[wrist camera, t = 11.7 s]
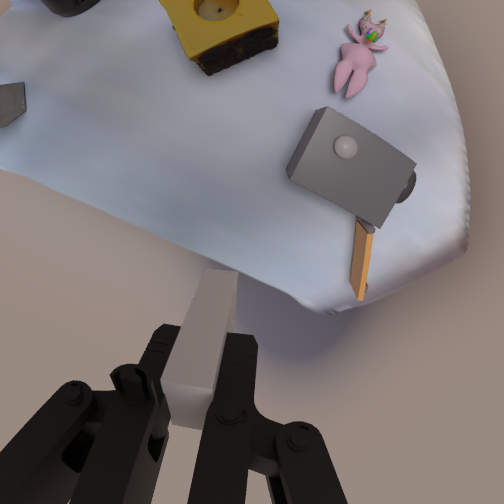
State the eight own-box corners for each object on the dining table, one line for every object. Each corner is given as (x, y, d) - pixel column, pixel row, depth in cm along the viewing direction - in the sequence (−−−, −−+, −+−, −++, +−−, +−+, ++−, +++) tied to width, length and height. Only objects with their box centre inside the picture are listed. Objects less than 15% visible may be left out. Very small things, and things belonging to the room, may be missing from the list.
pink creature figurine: (351, 11, 26) (315, 86, 30) (365, -8, 20) (327, 72, 24) (389, 33, 27) (358, 109, 31) (407, 18, 21) (377, 100, 25)
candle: (208, 77, 31) (186, 62, 22) (180, 23, 28) (153, -2, 19) (280, 47, 29) (282, 22, 20) (248, -7, 25) (240, -41, 16)
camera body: (285, 169, 36) (289, 183, 28) (315, 110, 32) (329, 105, 24) (372, 216, 38) (395, 240, 30) (402, 163, 34) (432, 175, 26)
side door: (356, 212, 37) (368, 226, 32) (369, 212, 37) (382, 226, 32) (349, 281, 42) (357, 301, 37) (360, 281, 41) (369, 301, 37)
